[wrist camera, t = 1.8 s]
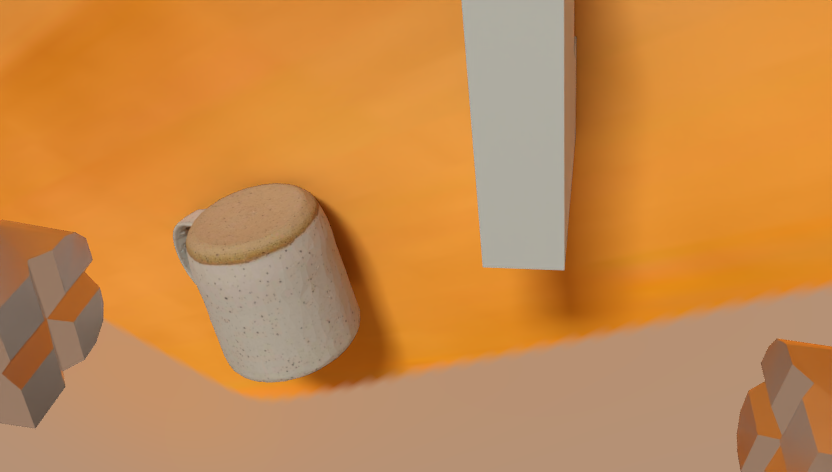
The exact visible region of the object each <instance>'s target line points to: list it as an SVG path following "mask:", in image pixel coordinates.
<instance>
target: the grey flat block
mask: <svg viewBox="0 0 832 472" xmlns="http://www.w3.org/2000/svg"><path fill="white" fill-rule="evenodd" d="M462 12H463V24H464V37H465V49H466V62H467V74H468V87H469V99H470V112H471V124H472V137H473V149H474V162H475V174H476V187H477V199H478V212H479V224H480V237H481V249H482V262H483V267H491V268H517V269H543V270H565V258H566V246H567V234H568V222H569V210H570V198H571V186H572V174H573V161H574V149H575V137H576V36H574V0H462Z"/></svg>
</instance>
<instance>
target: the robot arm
mask: <svg viewBox="0 0 832 472" xmlns="http://www.w3.org/2000/svg"><path fill="white" fill-rule="evenodd" d="M92 260H93V259H92V256H91V253H90V250H89V247H88V243H87V240H86V238H84V237H83V236H81V235H79V234H77V233H75V232H70V231H64V230H58V229H52V228H47V227H41V226H35V225H30V224H24V223H18V222H13V221H7V220H0V423H3V424H9V425H16V426H22V427H29V428H36V427H37V425H38V424H39V423H40V421H41V420H42V419H43V417H44V415H45V414H46V413H47V411H48V410H49V409H50V407H51V406H52V405H53V403H54V402H55V400H56V399H57V398H58V396H59V395H60V393H61V392H62V391H63V389H64V388H65V381H64V374H63V371H64V370H66V369H68V368H70V367H72V366H74V365H75V364H78V363H79V362H81V361H83V360H85V358H86V357H87V355H88V354H89V352H90V351H91V349H92V348H93V346H94V345H95V343H96V341H97V338H98V335H99V332H100V329H101V326H102V323H103V299H102V295H101V291H100V287H99V286H98V285H97V284H96V283H95V282H94V281H93V280H92V279H91V278H90V277H89V276H88V275H87V274H86V273H85V270H86V269H87V267H88V266H89V264H90V263H91V261H92ZM761 365H762V370H763V374H764V378H765V382H763V383H761V384H759V385H758V386H756V387H754V388H752V389H751V390H749V391H748V394H747V396H746V398H745V401H744V404H743V406H742V409H741V412H740V417H739V423H738V430H737V452H738V459H739V464H740V470H741V472H832V347H831V346H824V345H817V344H811V343H804V342H797V341H790V340H783V339H776V340H775V341H774V342H773V343H772V344H771V345H770V346H769V347H768V349H767V351H766V354H765V356H764V358H763V360H762V362H761Z"/></svg>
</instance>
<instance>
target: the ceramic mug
mask: <svg viewBox="0 0 832 472" xmlns="http://www.w3.org/2000/svg"><path fill="white" fill-rule="evenodd" d="M173 240H174V246H175V249H176V252H177V254H178V257H179V259H180V261H181V263H182V265H183V267H184V268H185V270H186V272H187V274H188V275H189V276H190V278H191V279H192V280H193V282H194V283H195V284H196V285H197V287H198V289H199V291H200V294H201V296H202V298H203V300H204V303H205V306H206V308H207V311H208V313H209V316H210V320H211V322H212V325H213V327H214V330H215V332H216V335H217V338H218V340H219V343H220V345H221V348H222V351H223V353H224V356H225V358H226V359H227V361H228V363H229V365H230V366H231V367H232V368H233V370H234V371H235V372H237V373H239V374H240V375H241V376H243V377H245V378H247V379H250V380H254V381H259V382H262V381H263V382H280V381H287V380H292V379H295V378H299V377H303V376H306V375H308V374H311V373H313V372H315V371H317V370H319V369H321V368H323V367H324V366H326V365H327V364H329V363H330V362H332V361H333V360H335V359H336V358H337V357H339V356H340V355H341V354H342V353H343V352H344V351H345V350H346V349H347V348H348V346H349V345H350V344H351V342H352V341H353V339H354V338H355V335H356V333H357V332H358V328H359V324H360V309H359V306H358V303H357V300H356V298H355V295H354V292H353V289H352V287H351V284H350V281H349V278H348V275H347V272H346V269H345V267H344V264H343V261H342V259H341V256H340V253H339V251H338V248H337V245H336V242H335V239H334V235H333V232H332V229H331V226H330V224H329V221H328V219H327V216H326V215H325V213H324V211H323V210H322V208H321V206H320V204H319V203H318V201H317V200H316V199H315V198H314V196H313V195H312V194H311V193H310V192H308V191H306V190H305V189H302V188H300V187H298V186H294V185H290V184H278V183H274V184H264V185H259V186H254V187H250V188H246V189H243V190H240V191H238V192H235V193H232V194H230V195H228V196H226V197H224V198H222V199H220V200H218V201H217V202H215V203H214V204H213V205H211V206H210V207H208V208H207V209H202V210H196V211H195V212H193V213H191V214H190V215H188V216H187V217H185V218H184V219H182V220H181V221H180V222H179V223H178V224H177V225H176V226H175V228H174V231H173Z"/></svg>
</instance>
